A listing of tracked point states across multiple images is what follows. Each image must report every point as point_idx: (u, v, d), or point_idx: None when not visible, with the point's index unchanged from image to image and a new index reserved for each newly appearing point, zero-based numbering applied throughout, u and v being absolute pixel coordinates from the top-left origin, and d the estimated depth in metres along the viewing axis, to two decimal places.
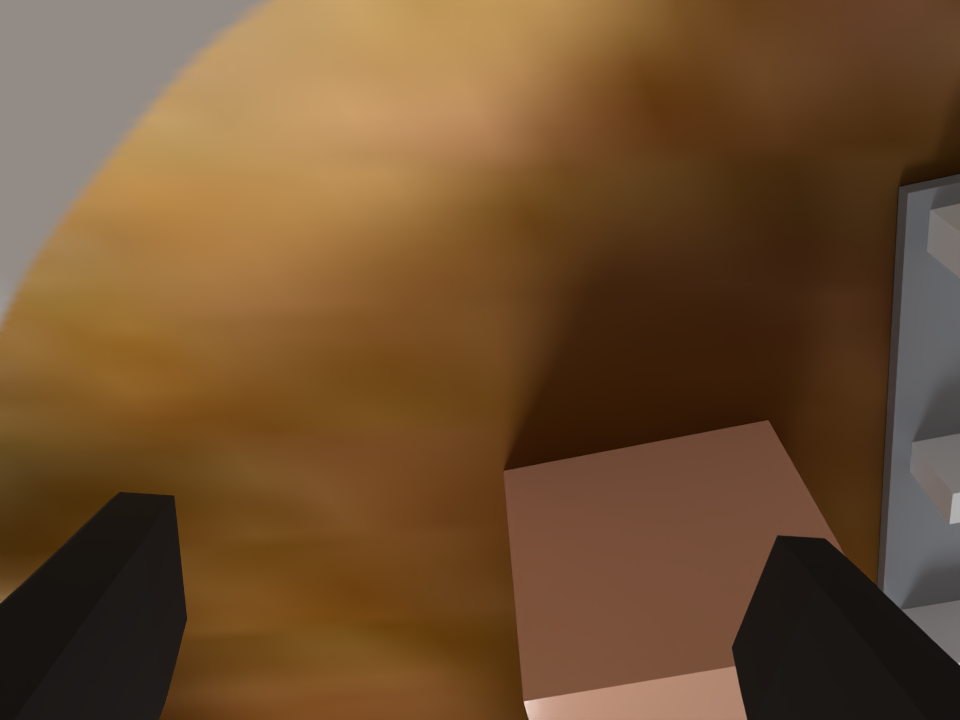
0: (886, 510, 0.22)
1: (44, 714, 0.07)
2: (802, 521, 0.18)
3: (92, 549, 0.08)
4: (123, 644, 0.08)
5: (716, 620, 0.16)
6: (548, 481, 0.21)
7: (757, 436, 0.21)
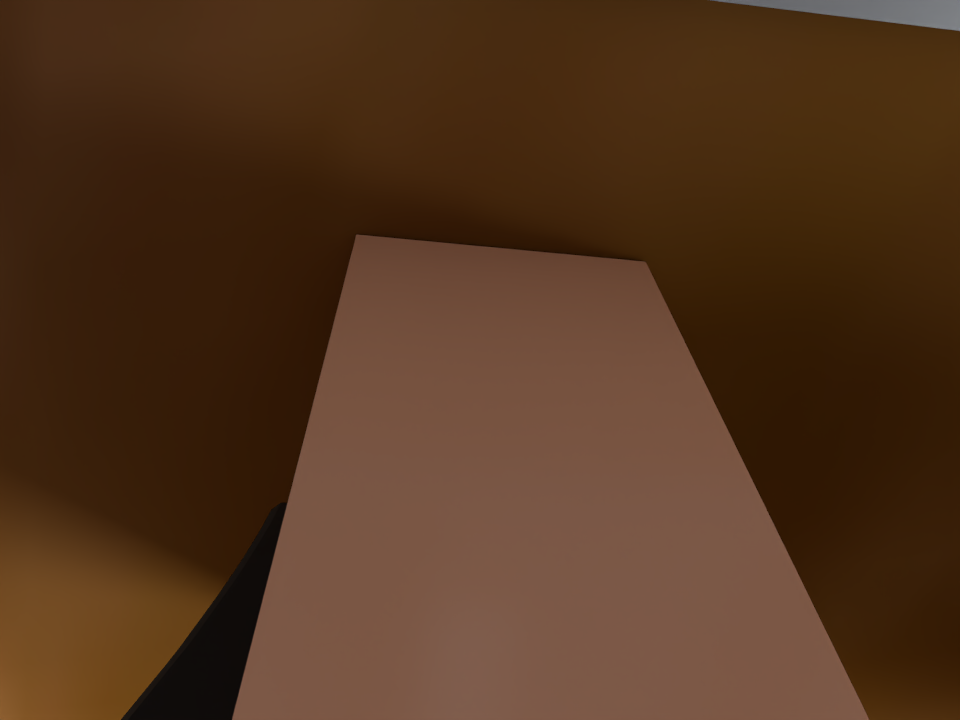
0: (731, 1, 0.08)
1: None
2: None
3: None
4: None
5: None
6: None
7: None
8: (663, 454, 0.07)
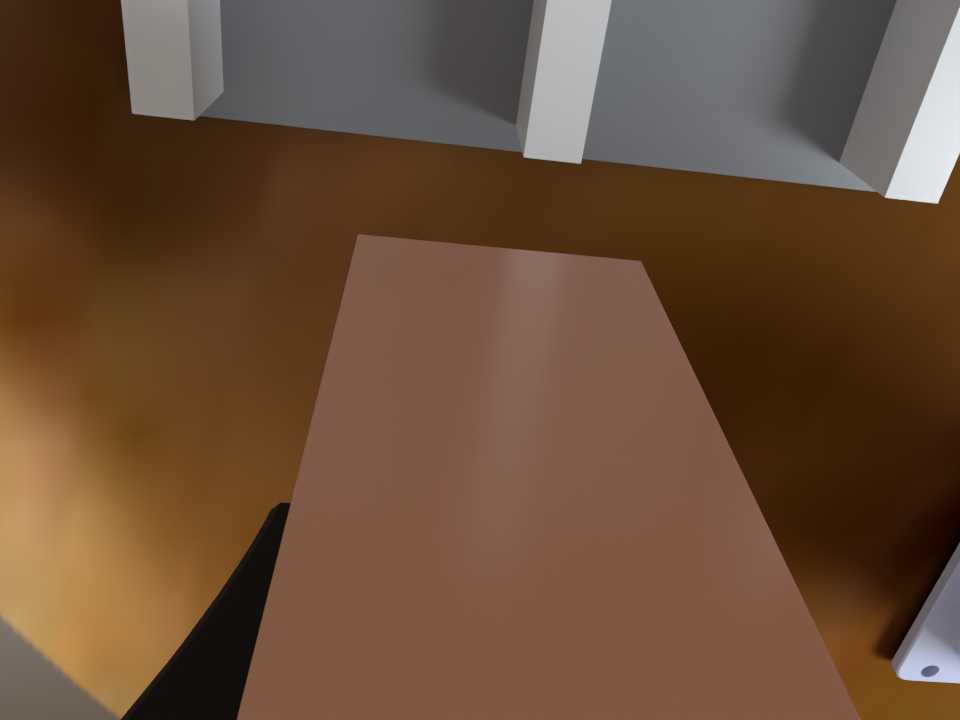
0: (630, 162, 0.16)
1: None
2: None
3: None
4: None
5: None
6: None
7: None
8: (656, 446, 0.07)
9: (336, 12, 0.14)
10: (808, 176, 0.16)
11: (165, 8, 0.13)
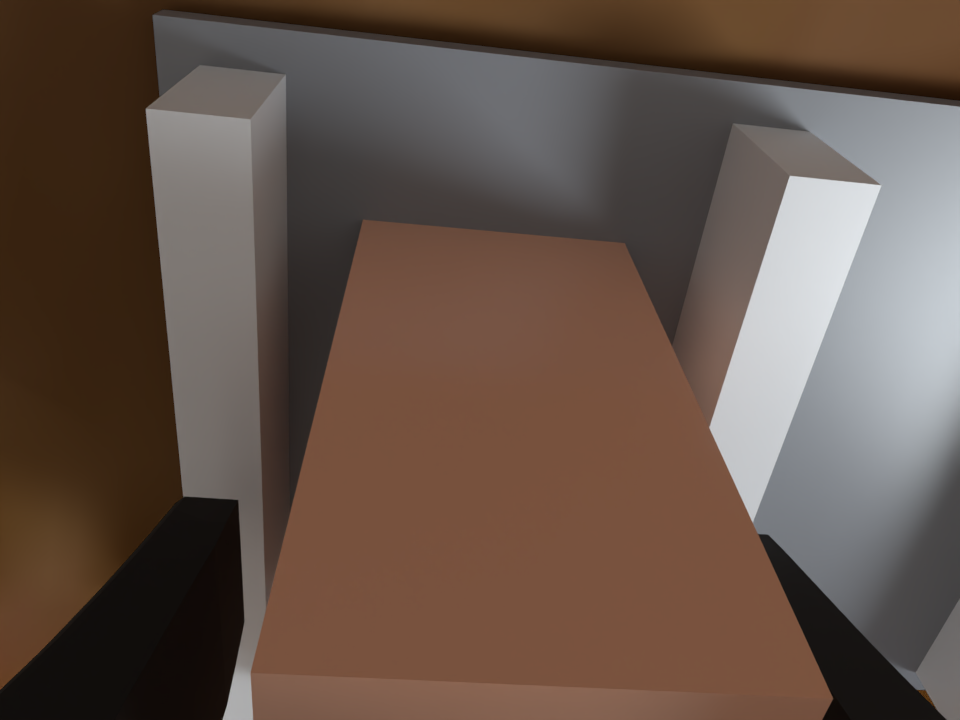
0: None
1: (135, 718, 0.07)
2: None
3: (167, 554, 0.08)
4: (197, 648, 0.08)
5: None
6: None
7: None
8: (631, 401, 0.08)
9: None
10: None
11: (245, 671, 0.12)
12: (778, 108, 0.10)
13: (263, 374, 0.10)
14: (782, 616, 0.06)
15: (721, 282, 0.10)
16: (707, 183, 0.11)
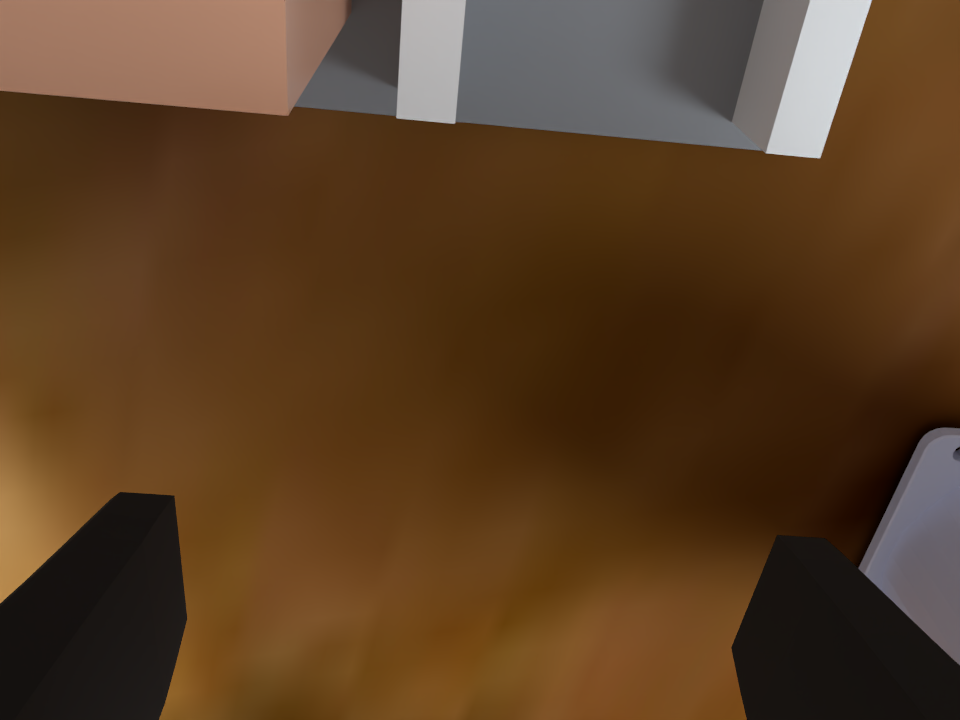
0: (521, 126, 0.16)
1: (44, 714, 0.07)
2: None
3: (92, 549, 0.08)
4: (123, 644, 0.08)
5: None
6: None
7: None
8: None
9: None
10: (701, 137, 0.16)
11: None
12: None
13: None
14: None
15: None
16: None
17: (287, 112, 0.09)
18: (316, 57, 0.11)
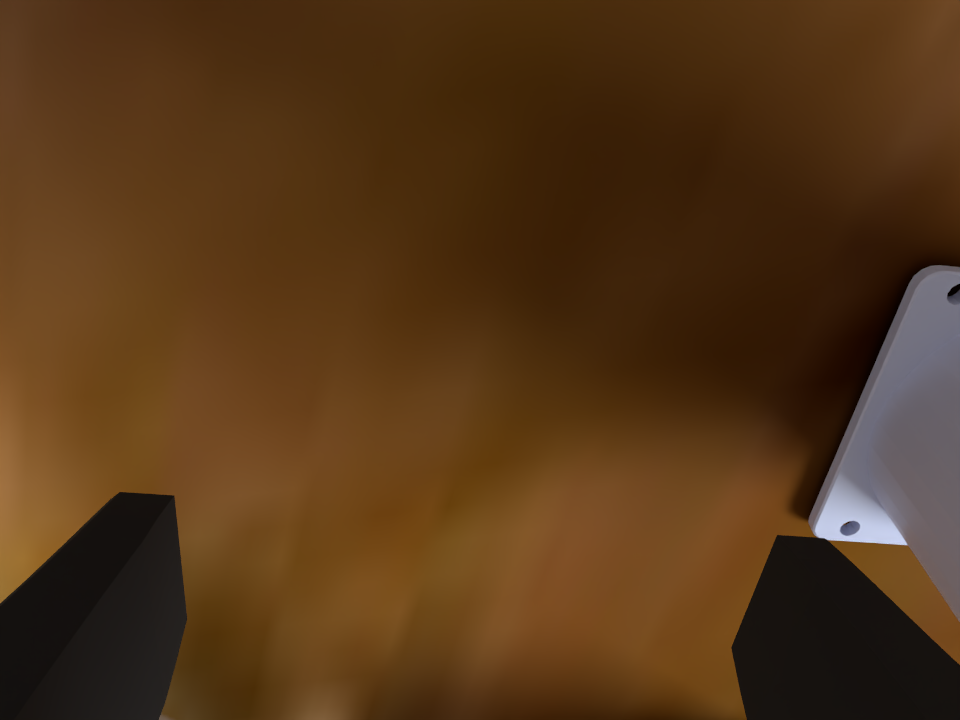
0: None
1: (44, 714, 0.07)
2: None
3: (92, 549, 0.08)
4: (123, 644, 0.08)
5: None
6: None
7: None
8: None
9: None
10: None
11: None
12: None
13: None
14: None
15: None
16: None
17: None
18: None
